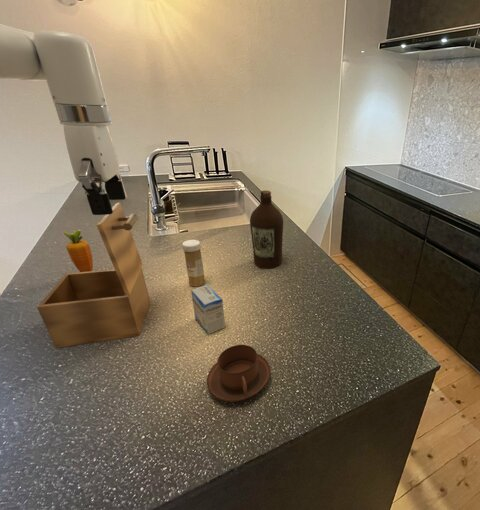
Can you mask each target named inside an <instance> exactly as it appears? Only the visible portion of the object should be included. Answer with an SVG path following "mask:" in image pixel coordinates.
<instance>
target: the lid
mask: <svg viewBox="0 0 480 510" xmlns="http://www.w3.org/2000/svg"><path fill="white" fill-rule="evenodd" d="M111 207H112V210H113V213H112V214H109V215H103V217H102V218H101V219H100V220H99V221H98V222H97V224H96V227H97V230H98V232H99V235H100V238H101V240H102V242H103V244H104V247H105V249H106V252H107V254H108V256H109V258H110V261H111V263H112V266H113V269H115V271H116V273H117V275H118V278H119V280H120V283H121V285H122V287H123V290H124V292H125V295H130V293H131V291H132V289H133V286H134V284H135V282H136V280H137V277H138V275H139V273H140V270H141V268H142V269H143V266H144V264H143V262H142V258H141V255H140V253H139V249H138V248H137V245H136V242H135V240H134V237H133V234H132V231H131V230H132V229H133V227H134V226H135V224H136V223H137V222H138V220H139V216H138V215H137V214H136V213H131V214H130V215H129V216H128V215H127V216H126V215H125V212H124V209H123V207H122V204H121V202H116V203H115V204H114V205H113V206H111Z"/></svg>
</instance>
